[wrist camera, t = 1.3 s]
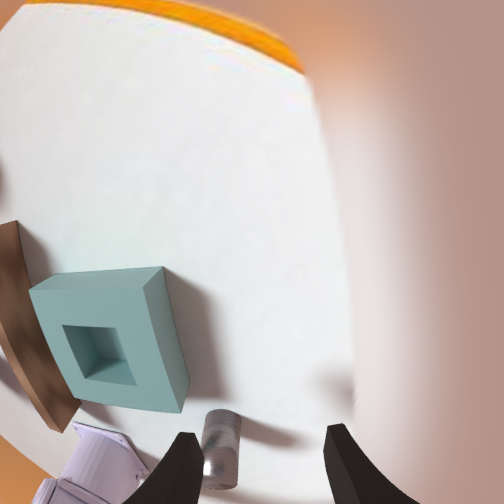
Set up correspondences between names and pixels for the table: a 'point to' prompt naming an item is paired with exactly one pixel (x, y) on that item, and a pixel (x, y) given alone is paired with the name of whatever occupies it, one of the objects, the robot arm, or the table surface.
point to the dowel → (221, 449)
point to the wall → (29, 338)
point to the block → (114, 337)
